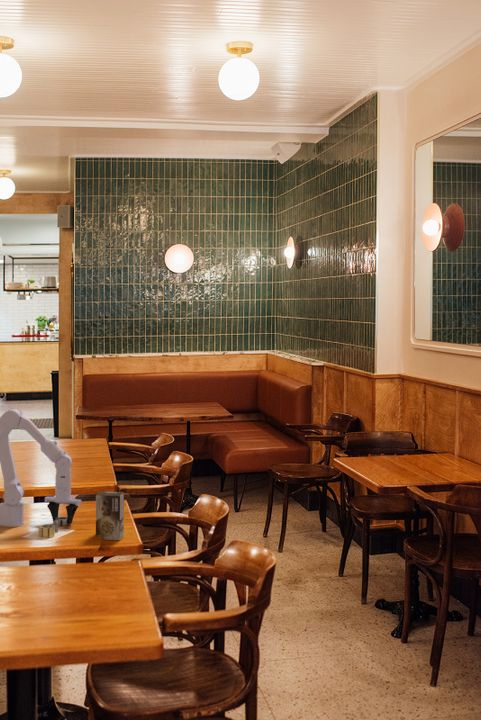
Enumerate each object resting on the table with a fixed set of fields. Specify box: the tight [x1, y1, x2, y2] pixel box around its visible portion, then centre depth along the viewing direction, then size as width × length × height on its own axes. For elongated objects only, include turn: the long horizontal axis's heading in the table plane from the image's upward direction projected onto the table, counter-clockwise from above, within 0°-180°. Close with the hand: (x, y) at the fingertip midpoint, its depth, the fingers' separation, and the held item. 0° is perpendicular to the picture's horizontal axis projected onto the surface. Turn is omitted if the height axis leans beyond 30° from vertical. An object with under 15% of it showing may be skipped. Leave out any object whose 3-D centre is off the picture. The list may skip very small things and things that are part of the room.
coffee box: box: [95, 490, 125, 541], centre depth 293 cm, size 9×6×16 cm
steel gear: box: [55, 516, 71, 527], centre depth 306 cm, size 6×6×3 cm
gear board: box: [22, 521, 76, 542], centre depth 292 cm, size 12×16×5 cm
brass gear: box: [38, 523, 55, 538], centre depth 289 cm, size 6×6×3 cm
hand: (62, 523), depth 306 cm, fingers closed on steel gear, 5 cm apart
